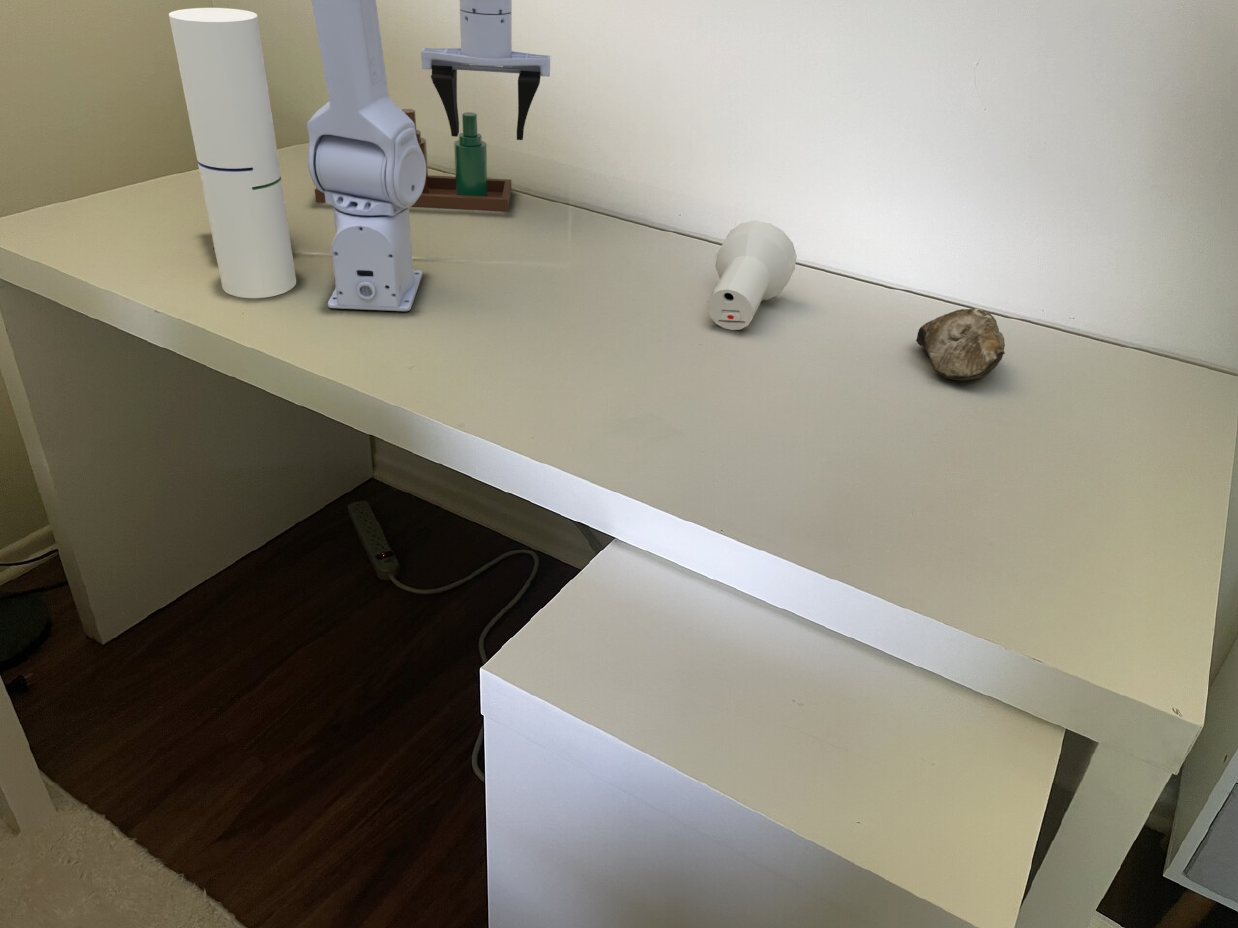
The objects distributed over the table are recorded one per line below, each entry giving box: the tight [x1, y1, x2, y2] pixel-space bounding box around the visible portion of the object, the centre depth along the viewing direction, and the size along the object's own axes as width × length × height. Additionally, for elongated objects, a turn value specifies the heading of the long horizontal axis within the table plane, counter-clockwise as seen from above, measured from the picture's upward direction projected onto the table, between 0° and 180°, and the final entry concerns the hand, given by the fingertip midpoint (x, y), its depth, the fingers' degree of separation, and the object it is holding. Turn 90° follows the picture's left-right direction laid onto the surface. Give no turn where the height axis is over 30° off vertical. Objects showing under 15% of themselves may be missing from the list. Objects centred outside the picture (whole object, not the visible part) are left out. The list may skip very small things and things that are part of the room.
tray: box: [314, 174, 512, 213], centre depth 117 cm, size 8×24×2 cm, turn 92°
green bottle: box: [453, 111, 488, 197], centre depth 114 cm, size 4×4×10 cm
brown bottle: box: [401, 108, 429, 194], centre depth 114 cm, size 4×4×10 cm
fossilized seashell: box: [915, 308, 1006, 382], centre depth 87 cm, size 8×7×10 cm
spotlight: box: [706, 220, 797, 331], centre depth 93 cm, size 8×11×8 cm
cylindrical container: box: [168, 7, 297, 299], centre depth 86 cm, size 7×7×25 cm
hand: (487, 136), depth 109 cm, fingers open, 7 cm apart
